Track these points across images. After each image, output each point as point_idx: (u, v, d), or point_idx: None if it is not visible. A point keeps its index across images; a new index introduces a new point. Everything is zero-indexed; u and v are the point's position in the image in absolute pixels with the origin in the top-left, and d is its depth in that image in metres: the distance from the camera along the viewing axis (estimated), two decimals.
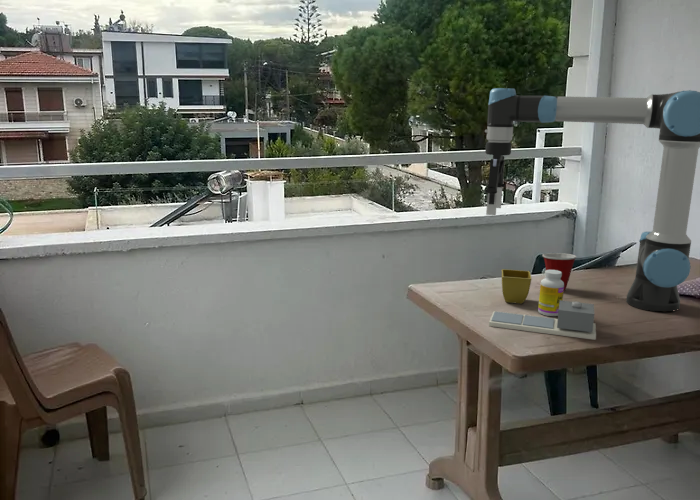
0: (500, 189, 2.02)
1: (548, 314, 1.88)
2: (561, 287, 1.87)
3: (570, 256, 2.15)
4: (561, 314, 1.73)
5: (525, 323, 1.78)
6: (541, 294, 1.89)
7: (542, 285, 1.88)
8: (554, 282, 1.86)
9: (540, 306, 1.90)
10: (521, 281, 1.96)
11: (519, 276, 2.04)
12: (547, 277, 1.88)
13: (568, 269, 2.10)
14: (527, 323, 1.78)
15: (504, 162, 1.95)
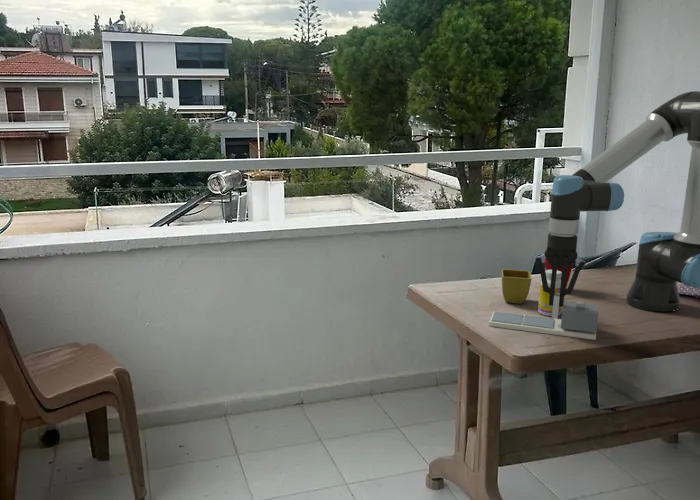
0: None
1: (548, 314, 1.88)
2: None
3: None
4: (565, 314, 1.72)
5: (525, 323, 1.78)
6: (541, 294, 1.89)
7: None
8: None
9: (540, 306, 1.90)
10: (521, 281, 1.96)
11: (519, 276, 2.04)
12: (547, 277, 1.88)
13: (568, 269, 2.10)
14: (527, 323, 1.78)
15: (566, 259, 1.72)
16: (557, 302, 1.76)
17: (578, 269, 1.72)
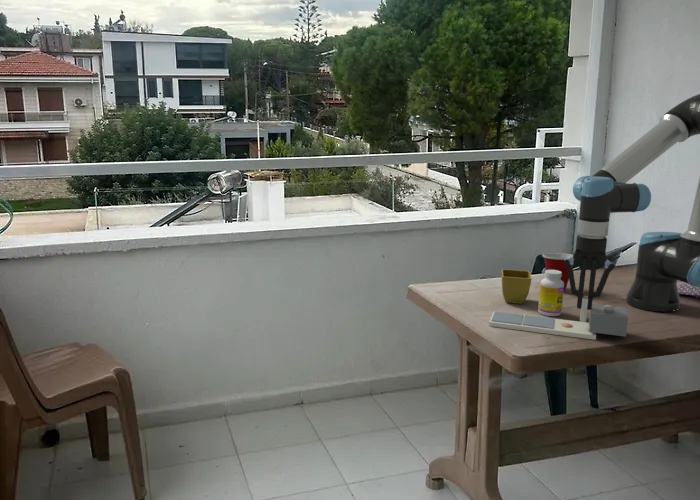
0: None
1: (548, 314, 1.88)
2: (561, 287, 1.87)
3: (570, 256, 2.15)
4: (594, 318, 1.70)
5: (525, 323, 1.78)
6: (541, 294, 1.89)
7: (542, 285, 1.88)
8: (554, 282, 1.86)
9: (540, 306, 1.90)
10: (521, 281, 1.96)
11: (519, 276, 2.04)
12: (547, 277, 1.88)
13: None
14: (527, 323, 1.78)
15: (595, 262, 1.69)
16: (585, 305, 1.73)
17: (607, 271, 1.70)
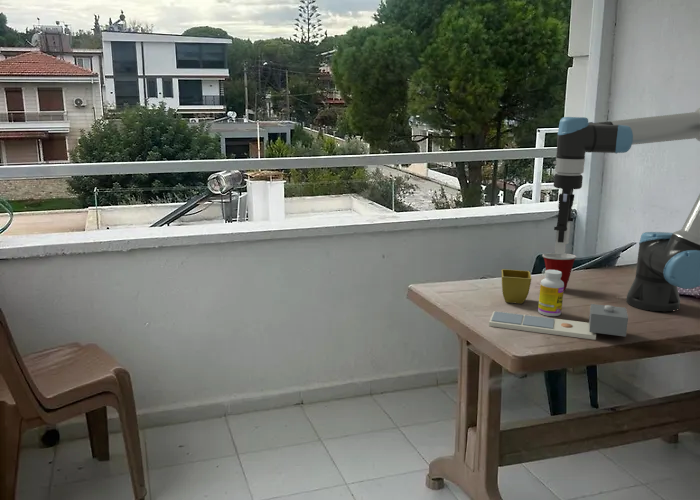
0: (568, 224, 1.88)
1: (548, 314, 1.88)
2: (561, 287, 1.87)
3: (570, 256, 2.15)
4: (594, 318, 1.70)
5: (525, 323, 1.78)
6: (541, 294, 1.89)
7: (542, 285, 1.88)
8: (554, 282, 1.86)
9: (540, 306, 1.90)
10: (521, 281, 1.96)
11: (519, 276, 2.04)
12: (547, 277, 1.88)
13: (568, 269, 2.10)
14: (527, 323, 1.78)
15: None
16: (569, 228, 1.88)
17: None
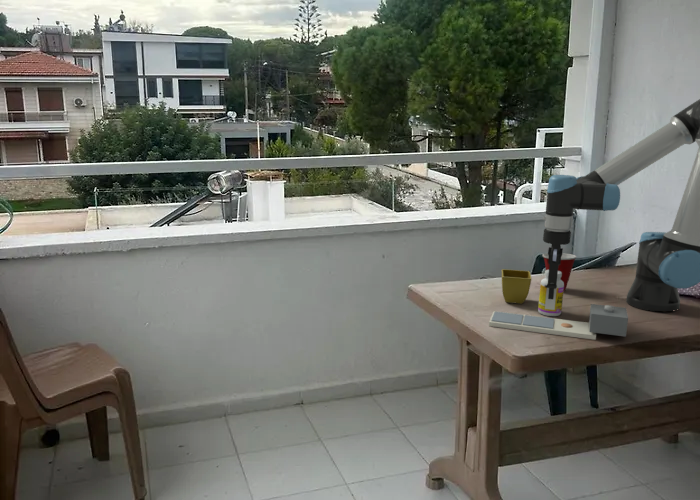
0: None
1: (548, 314, 1.88)
2: (561, 287, 1.87)
3: (570, 256, 2.15)
4: (594, 318, 1.70)
5: (525, 323, 1.78)
6: (541, 294, 1.89)
7: (542, 285, 1.88)
8: None
9: (540, 306, 1.90)
10: (521, 281, 1.96)
11: (519, 276, 2.04)
12: (547, 277, 1.88)
13: (568, 269, 2.10)
14: (527, 323, 1.78)
15: (562, 250, 1.88)
16: None
17: None
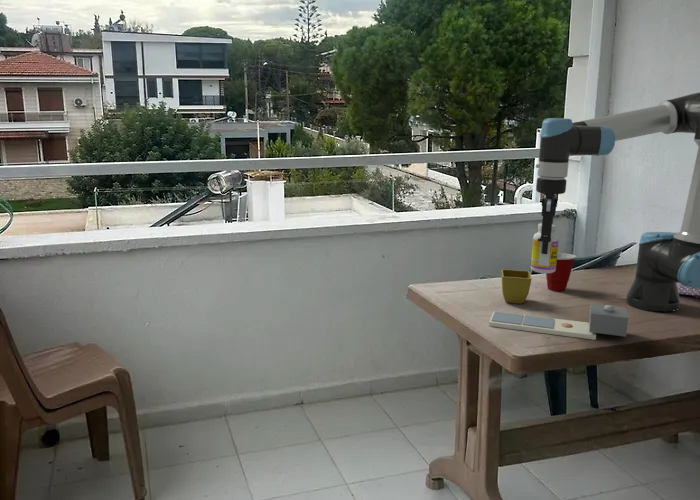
0: None
1: (541, 271, 1.73)
2: (555, 241, 1.72)
3: (570, 256, 2.15)
4: (594, 318, 1.70)
5: (525, 323, 1.78)
6: (534, 249, 1.74)
7: (535, 239, 1.73)
8: None
9: (533, 262, 1.75)
10: (521, 281, 1.96)
11: (519, 276, 2.04)
12: (540, 230, 1.73)
13: (568, 269, 2.10)
14: (527, 323, 1.78)
15: (557, 201, 1.73)
16: None
17: None
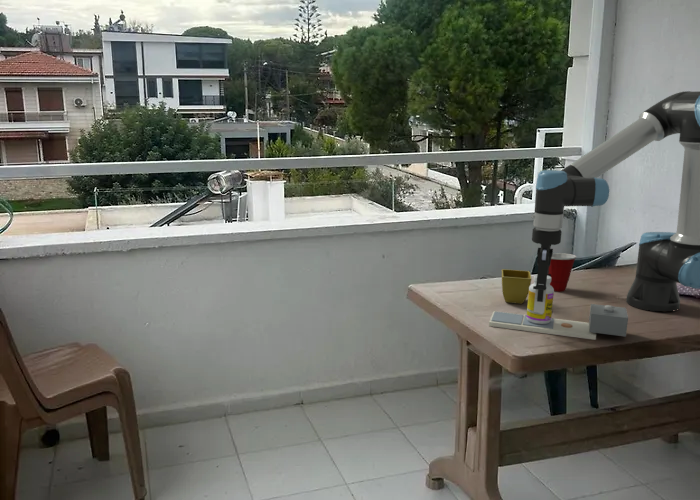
0: None
1: (537, 322, 1.77)
2: (550, 293, 1.75)
3: (570, 256, 2.15)
4: (594, 318, 1.70)
5: (525, 323, 1.78)
6: (529, 300, 1.78)
7: (530, 291, 1.77)
8: None
9: (528, 313, 1.78)
10: (521, 281, 1.96)
11: (519, 276, 2.04)
12: (536, 282, 1.76)
13: (568, 269, 2.10)
14: (527, 323, 1.78)
15: (552, 250, 1.76)
16: None
17: None
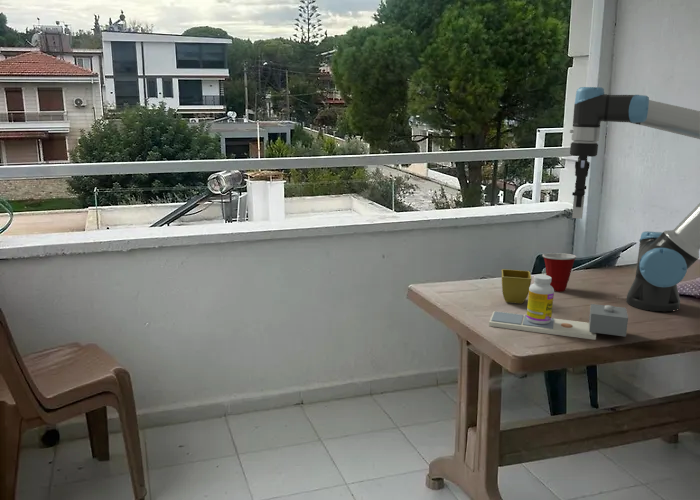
0: None
1: (537, 322, 1.77)
2: (551, 293, 1.75)
3: (570, 256, 2.15)
4: (594, 318, 1.70)
5: (525, 323, 1.78)
6: (529, 301, 1.78)
7: (530, 291, 1.77)
8: (543, 288, 1.75)
9: (528, 313, 1.78)
10: (521, 281, 1.96)
11: (519, 276, 2.04)
12: (536, 283, 1.76)
13: (568, 269, 2.10)
14: (527, 323, 1.78)
15: None
16: None
17: None
